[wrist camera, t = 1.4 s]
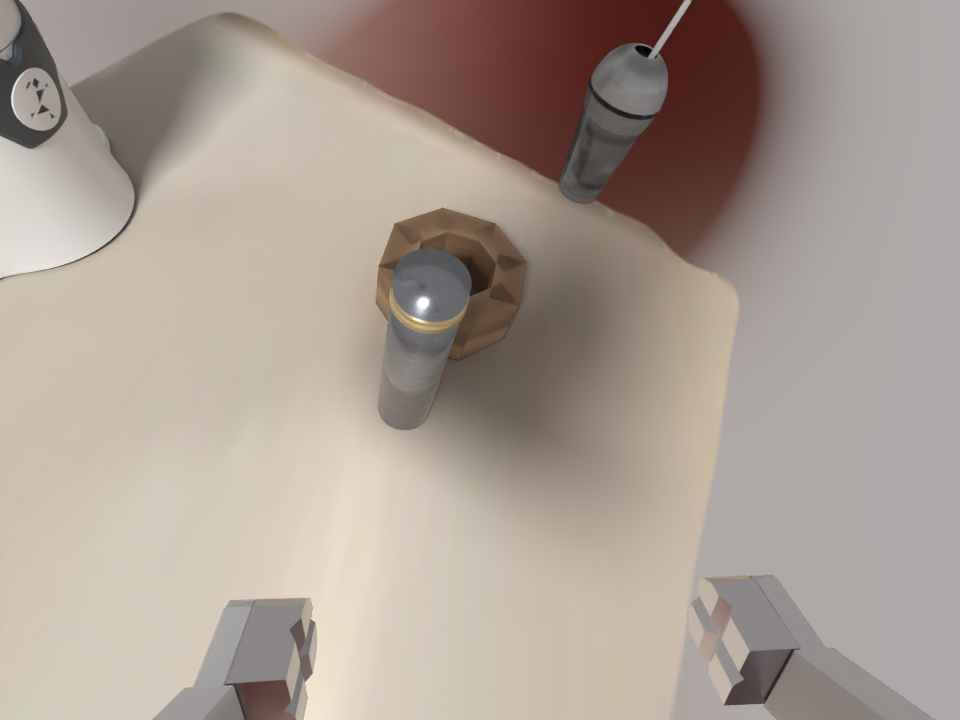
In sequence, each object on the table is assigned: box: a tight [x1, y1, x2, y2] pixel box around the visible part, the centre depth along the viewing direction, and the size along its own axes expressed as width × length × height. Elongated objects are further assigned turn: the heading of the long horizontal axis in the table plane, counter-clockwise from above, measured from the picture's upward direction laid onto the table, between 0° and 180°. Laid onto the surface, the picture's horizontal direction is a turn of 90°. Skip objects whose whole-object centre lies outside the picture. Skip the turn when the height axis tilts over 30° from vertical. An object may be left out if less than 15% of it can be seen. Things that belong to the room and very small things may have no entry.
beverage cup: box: [559, 0, 691, 204], centre depth 49 cm, size 7×7×20 cm
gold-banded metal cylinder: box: [378, 249, 472, 430], centre depth 33 cm, size 4×4×16 cm
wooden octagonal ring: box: [376, 208, 527, 360], centre depth 43 cm, size 11×12×5 cm
